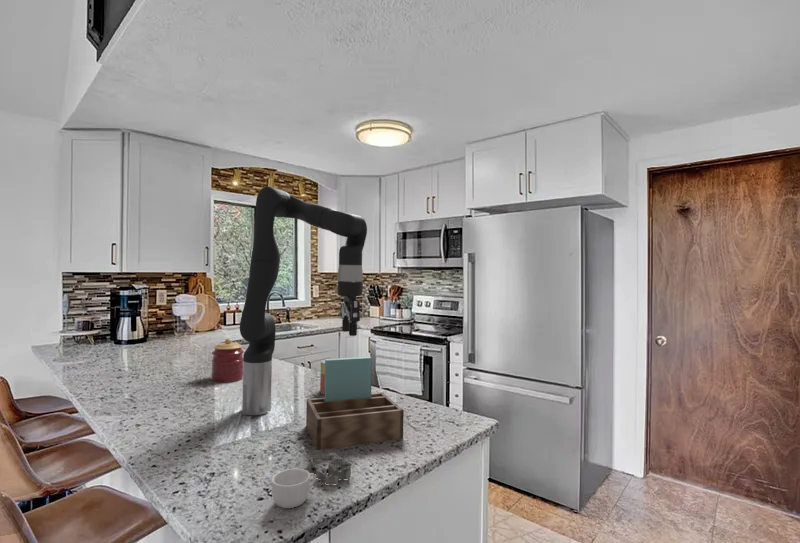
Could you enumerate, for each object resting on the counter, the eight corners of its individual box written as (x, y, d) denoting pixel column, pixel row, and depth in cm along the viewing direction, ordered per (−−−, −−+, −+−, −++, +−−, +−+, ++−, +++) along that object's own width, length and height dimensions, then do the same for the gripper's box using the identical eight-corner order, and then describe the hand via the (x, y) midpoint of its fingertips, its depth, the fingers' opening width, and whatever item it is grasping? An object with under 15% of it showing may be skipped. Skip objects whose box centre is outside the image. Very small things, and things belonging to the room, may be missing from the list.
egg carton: (304, 472, 102) (304, 455, 102) (330, 463, 107) (330, 447, 107) (328, 489, 94) (328, 471, 94) (355, 478, 99) (355, 461, 99)
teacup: (283, 518, 83) (284, 490, 82) (263, 502, 88) (264, 476, 88) (325, 499, 90) (326, 473, 90) (305, 485, 95) (305, 461, 95)
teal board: (325, 428, 126) (326, 360, 126) (323, 425, 128) (325, 359, 128) (370, 423, 131) (371, 357, 131) (368, 420, 133) (369, 356, 133)
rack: (316, 455, 110) (317, 419, 110) (306, 431, 127) (306, 399, 127) (402, 444, 119) (403, 410, 119) (382, 422, 136) (382, 392, 136)
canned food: (329, 397, 162) (330, 365, 162) (314, 390, 170) (315, 360, 170) (354, 392, 169) (354, 361, 169) (338, 385, 178) (339, 357, 178)
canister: (249, 378, 187) (250, 338, 187) (223, 384, 176) (224, 342, 176) (231, 374, 194) (231, 335, 194) (204, 379, 183) (205, 338, 183)
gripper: (332, 279, 134) (332, 330, 134) (343, 280, 121) (342, 337, 121) (356, 279, 137) (355, 330, 137) (368, 280, 124) (367, 336, 124)
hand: (349, 333), depth 129 cm, fingers open, 8 cm apart
